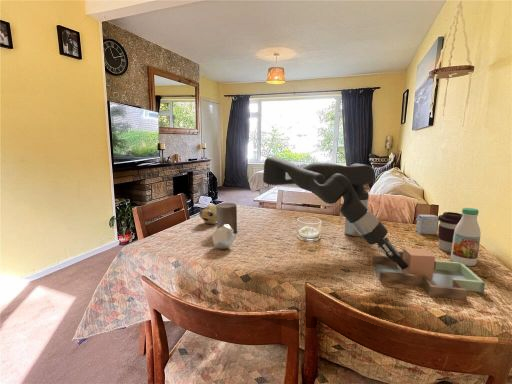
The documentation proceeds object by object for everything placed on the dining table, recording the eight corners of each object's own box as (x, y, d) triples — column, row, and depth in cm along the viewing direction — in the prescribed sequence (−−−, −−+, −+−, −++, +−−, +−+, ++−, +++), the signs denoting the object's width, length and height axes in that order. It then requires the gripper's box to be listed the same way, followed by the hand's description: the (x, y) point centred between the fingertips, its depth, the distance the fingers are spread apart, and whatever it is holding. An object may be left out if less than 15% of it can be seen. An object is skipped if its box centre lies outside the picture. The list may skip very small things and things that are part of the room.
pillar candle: (240, 231, 138) (240, 201, 135) (230, 237, 129) (230, 205, 126) (223, 228, 142) (222, 199, 139) (213, 234, 133) (211, 203, 130)
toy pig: (196, 225, 146) (195, 206, 144) (208, 220, 157) (207, 201, 155) (212, 228, 142) (212, 207, 140) (223, 221, 153) (223, 202, 152)
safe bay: (452, 290, 83) (453, 279, 82) (434, 269, 96) (435, 260, 96) (483, 293, 81) (485, 282, 81) (460, 272, 95) (461, 262, 94)
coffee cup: (459, 246, 118) (463, 212, 115) (467, 255, 108) (473, 218, 106) (431, 243, 121) (436, 210, 118) (438, 252, 112) (442, 215, 109)
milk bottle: (445, 258, 106) (452, 206, 103) (464, 257, 107) (471, 206, 103) (461, 266, 99) (469, 211, 95) (482, 266, 99) (490, 211, 96)
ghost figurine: (235, 251, 112) (235, 227, 110) (211, 252, 111) (211, 228, 109) (235, 243, 121) (235, 221, 119) (213, 244, 120) (212, 221, 118)
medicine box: (432, 231, 137) (434, 214, 136) (437, 234, 133) (439, 217, 131) (415, 231, 138) (417, 214, 136) (419, 234, 133) (421, 216, 132)
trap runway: (383, 292, 82) (384, 281, 81) (369, 257, 107) (369, 248, 106) (495, 305, 75) (497, 293, 75) (452, 264, 100) (453, 255, 100)
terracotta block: (408, 279, 89) (411, 255, 87) (401, 270, 94) (403, 248, 93) (432, 280, 88) (435, 256, 86) (423, 271, 94) (425, 249, 92)
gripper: (356, 227, 98) (390, 265, 97) (361, 240, 85) (400, 283, 85) (374, 214, 96) (409, 252, 95) (382, 225, 83) (422, 269, 83)
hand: (405, 267), depth 90 cm, fingers closed
